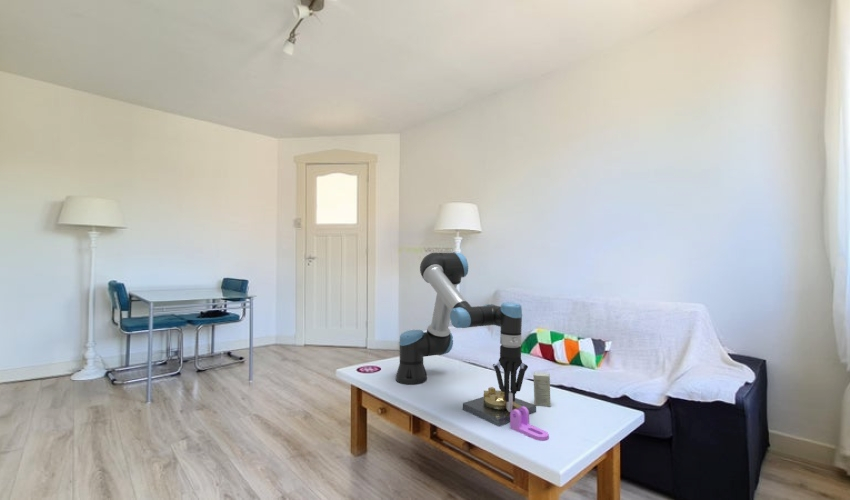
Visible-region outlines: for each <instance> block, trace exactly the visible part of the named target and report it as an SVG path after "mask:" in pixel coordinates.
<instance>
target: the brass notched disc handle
mask: <svg viewBox="0 0 850 500" xmlns="http://www.w3.org/2000/svg"><path fill="white" fill-rule="evenodd" d="M509 391H510V392H511V390H509ZM482 397H483V401H484V405H485V406H487V407H489V408H493V409H499V410H505V409H507V402H506V401H505V400H504V392H502V391H501V390H496V387H493V386H489V387H488V389H487V390H483V396H482ZM520 407H522V406H520V405H519V404H517V403H515V402H513V406H512V410H514V409H517V410H518V409H519V408H520ZM523 413H524V412H523Z"/></svg>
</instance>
